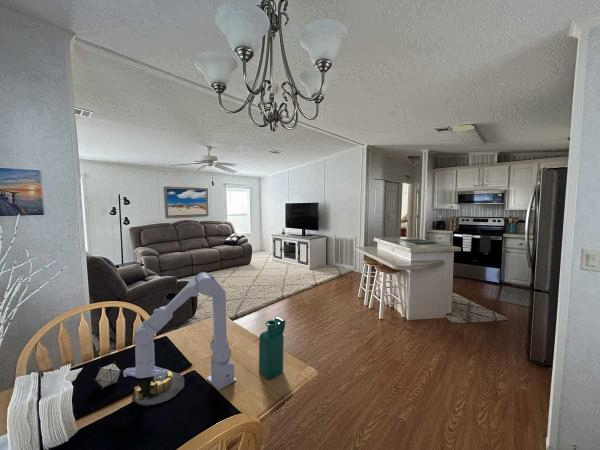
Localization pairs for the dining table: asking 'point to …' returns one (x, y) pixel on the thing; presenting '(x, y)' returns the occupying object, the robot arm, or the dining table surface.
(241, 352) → the dining table surface
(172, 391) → the flange
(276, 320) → the green flip-top bottle
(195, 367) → the dining table surface
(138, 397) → the yellow toy key
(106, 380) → the game die
